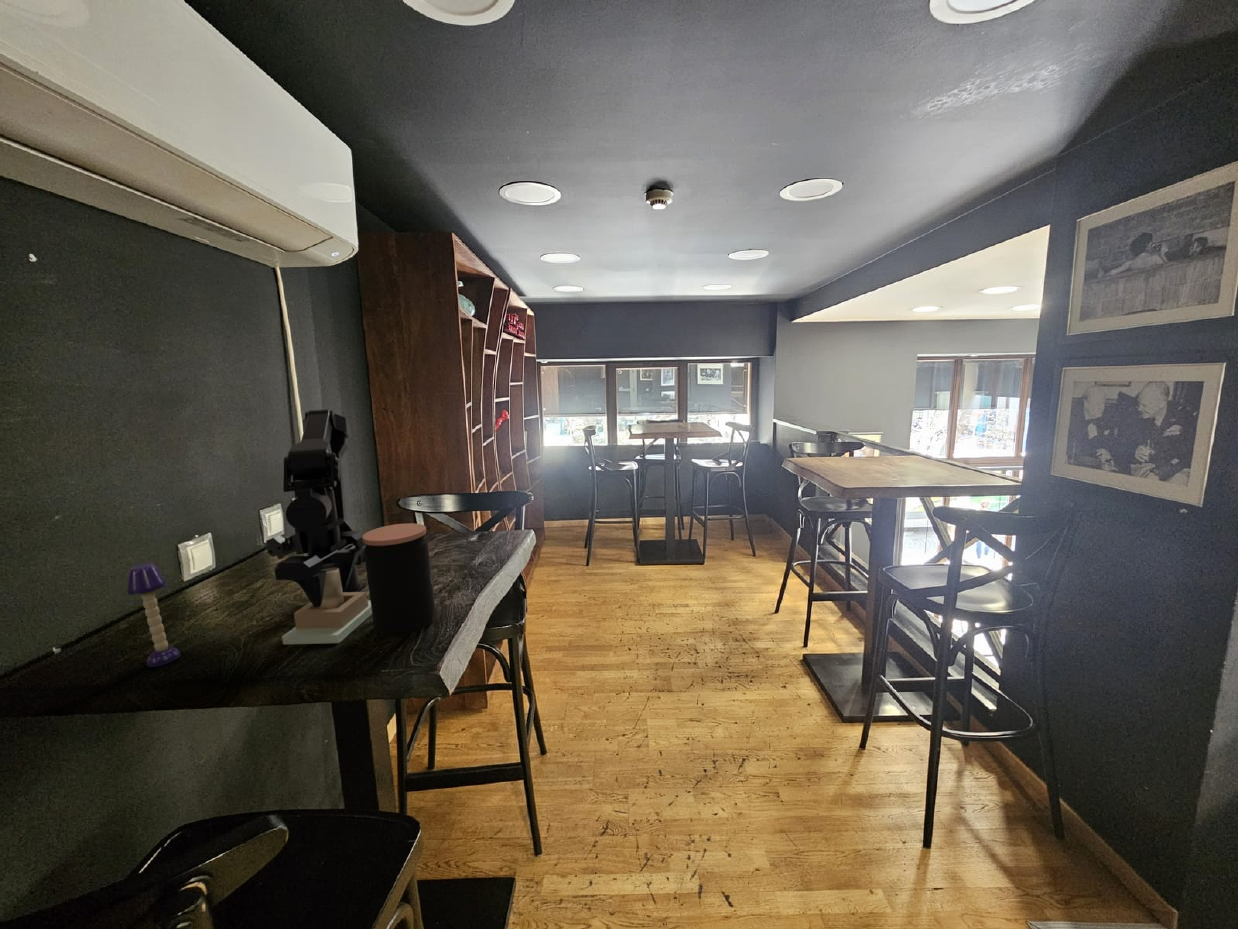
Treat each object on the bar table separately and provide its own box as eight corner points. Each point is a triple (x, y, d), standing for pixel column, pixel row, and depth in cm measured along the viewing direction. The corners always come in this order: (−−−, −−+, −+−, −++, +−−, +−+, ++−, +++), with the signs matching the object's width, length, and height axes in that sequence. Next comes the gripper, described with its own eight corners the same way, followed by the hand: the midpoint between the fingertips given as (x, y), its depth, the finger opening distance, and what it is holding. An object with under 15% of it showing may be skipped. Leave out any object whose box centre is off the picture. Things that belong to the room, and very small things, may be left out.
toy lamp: (136, 670, 80) (114, 573, 77) (154, 655, 84) (134, 563, 82) (172, 664, 81) (151, 568, 78) (187, 650, 86) (169, 559, 83)
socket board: (331, 608, 100) (328, 587, 99) (379, 607, 99) (377, 586, 99) (283, 644, 86) (279, 620, 85) (338, 643, 86) (335, 619, 85)
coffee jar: (448, 617, 94) (438, 526, 91) (398, 644, 84) (386, 544, 82) (412, 606, 99) (401, 520, 96) (362, 630, 90) (348, 536, 87)
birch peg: (330, 612, 95) (323, 568, 93) (350, 611, 94) (343, 567, 93) (316, 622, 91) (309, 576, 89) (337, 621, 90) (330, 575, 89)
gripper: (309, 505, 99) (320, 578, 101) (235, 533, 80) (251, 622, 83) (363, 503, 98) (373, 577, 101) (301, 531, 80) (315, 620, 83)
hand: (331, 597), depth 92 cm, fingers open, 8 cm apart
